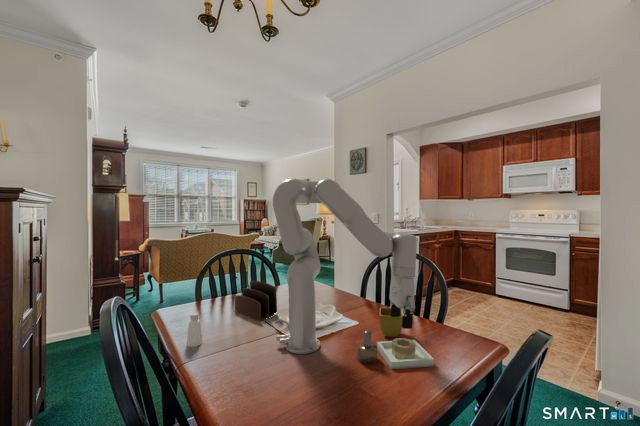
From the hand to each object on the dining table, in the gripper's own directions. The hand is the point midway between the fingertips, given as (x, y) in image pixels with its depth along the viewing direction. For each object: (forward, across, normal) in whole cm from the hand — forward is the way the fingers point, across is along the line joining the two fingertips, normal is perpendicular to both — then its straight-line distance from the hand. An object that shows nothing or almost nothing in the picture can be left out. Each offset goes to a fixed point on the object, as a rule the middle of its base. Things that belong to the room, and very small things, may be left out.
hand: (400, 322), depth 100 cm
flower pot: (+12, -16, +3) cm, 21 cm away
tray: (+12, 0, +1) cm, 12 cm away
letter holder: (+15, -48, -51) cm, 71 cm away
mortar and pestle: (+12, 0, -11) cm, 16 cm away
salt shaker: (+15, -18, -71) cm, 74 cm away
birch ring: (+11, 0, +1) cm, 11 cm away
